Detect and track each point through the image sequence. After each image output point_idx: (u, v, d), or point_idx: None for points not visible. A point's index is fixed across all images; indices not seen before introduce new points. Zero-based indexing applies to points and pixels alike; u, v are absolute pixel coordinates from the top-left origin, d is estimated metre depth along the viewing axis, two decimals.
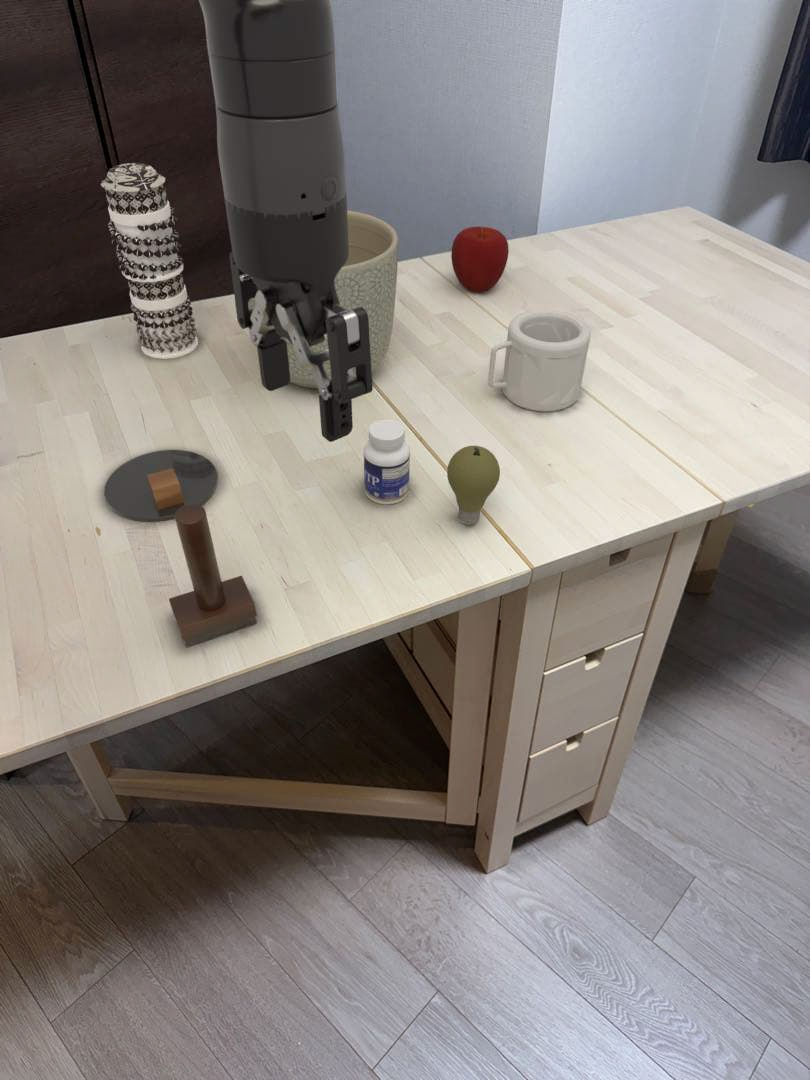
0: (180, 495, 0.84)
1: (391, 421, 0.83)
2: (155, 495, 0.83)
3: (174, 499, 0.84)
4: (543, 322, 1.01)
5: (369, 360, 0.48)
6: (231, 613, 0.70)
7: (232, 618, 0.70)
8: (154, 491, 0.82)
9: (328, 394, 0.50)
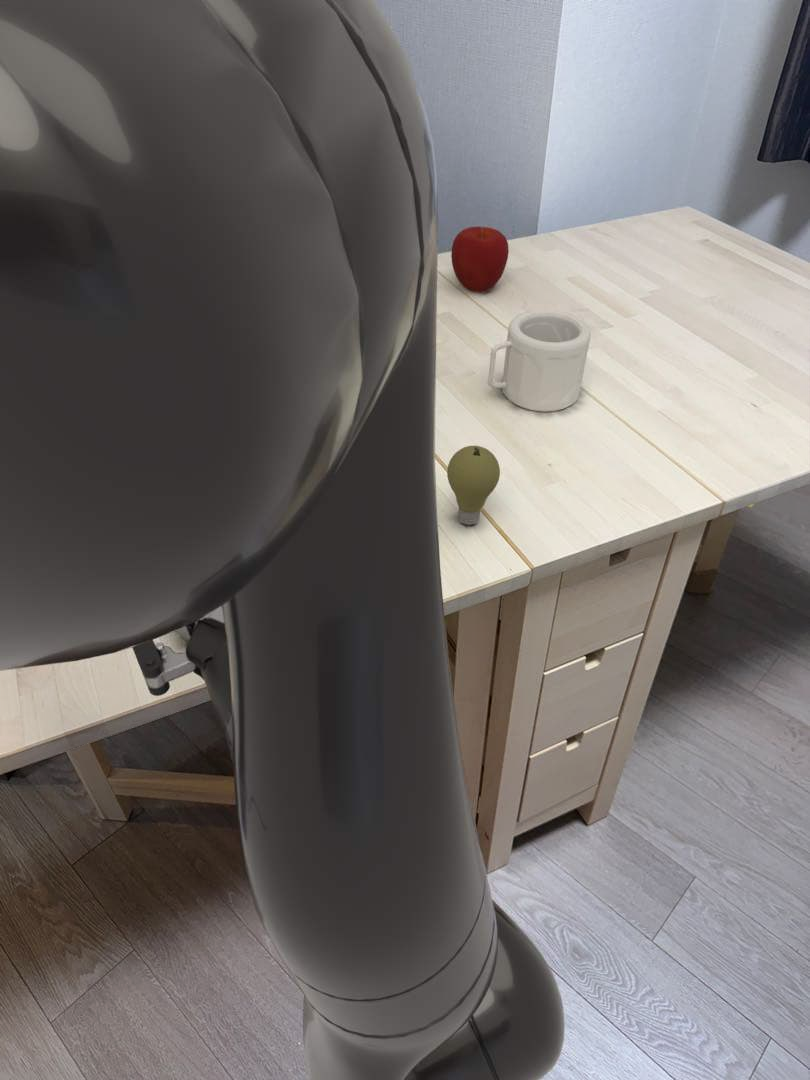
0: None
1: None
2: None
3: None
4: (543, 322, 1.01)
5: None
6: None
7: None
8: None
9: None
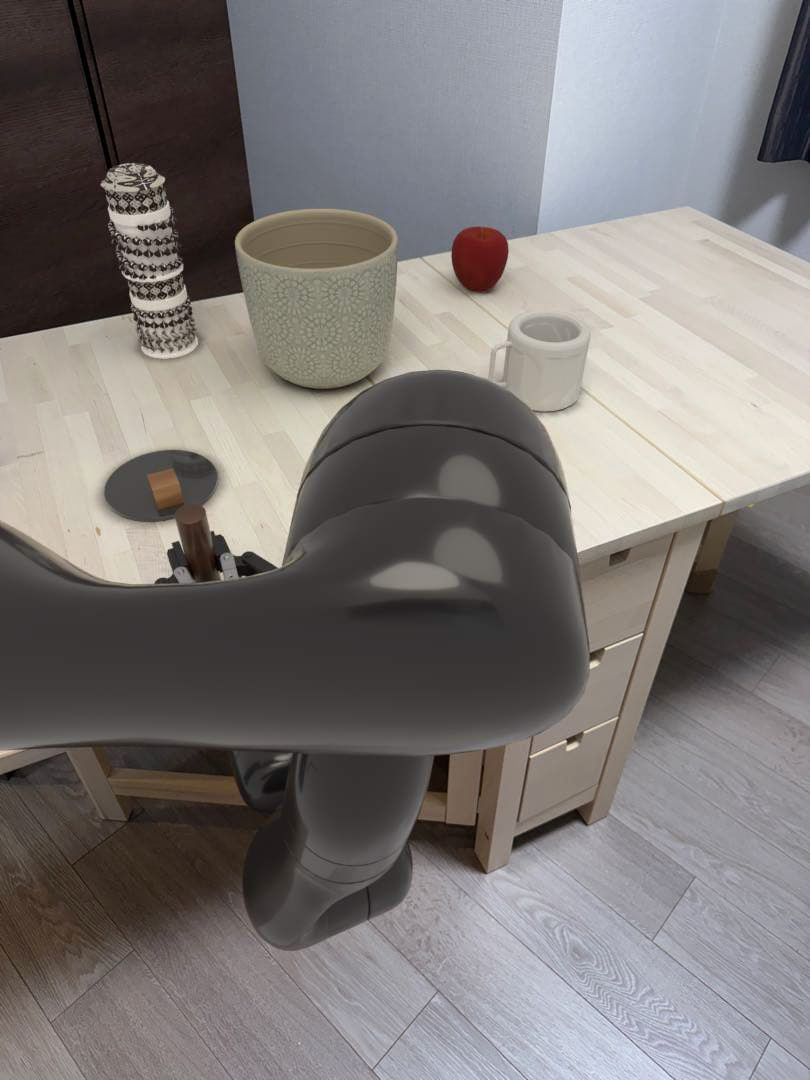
0: (180, 495, 0.84)
1: None
2: (155, 495, 0.83)
3: (174, 499, 0.84)
4: (543, 322, 1.01)
5: None
6: None
7: None
8: (154, 491, 0.82)
9: (174, 574, 0.65)
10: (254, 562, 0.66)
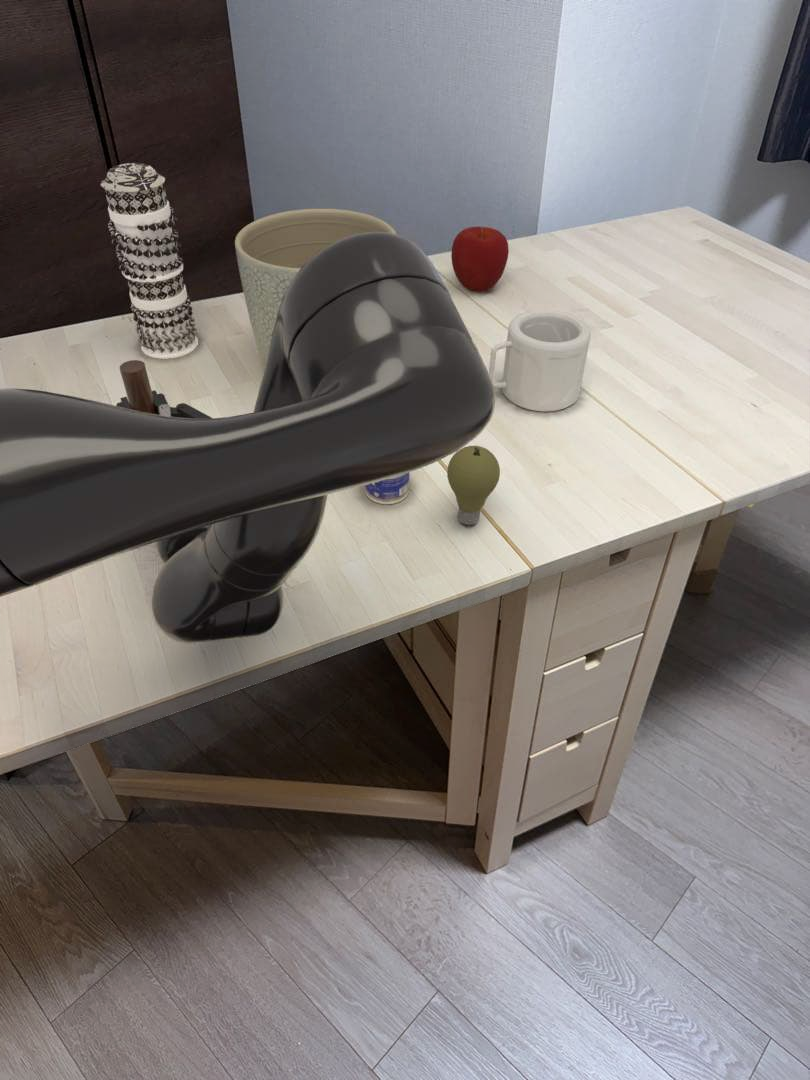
0: None
1: None
2: None
3: None
4: (543, 322, 1.01)
5: None
6: None
7: None
8: None
9: None
10: (186, 410, 0.81)
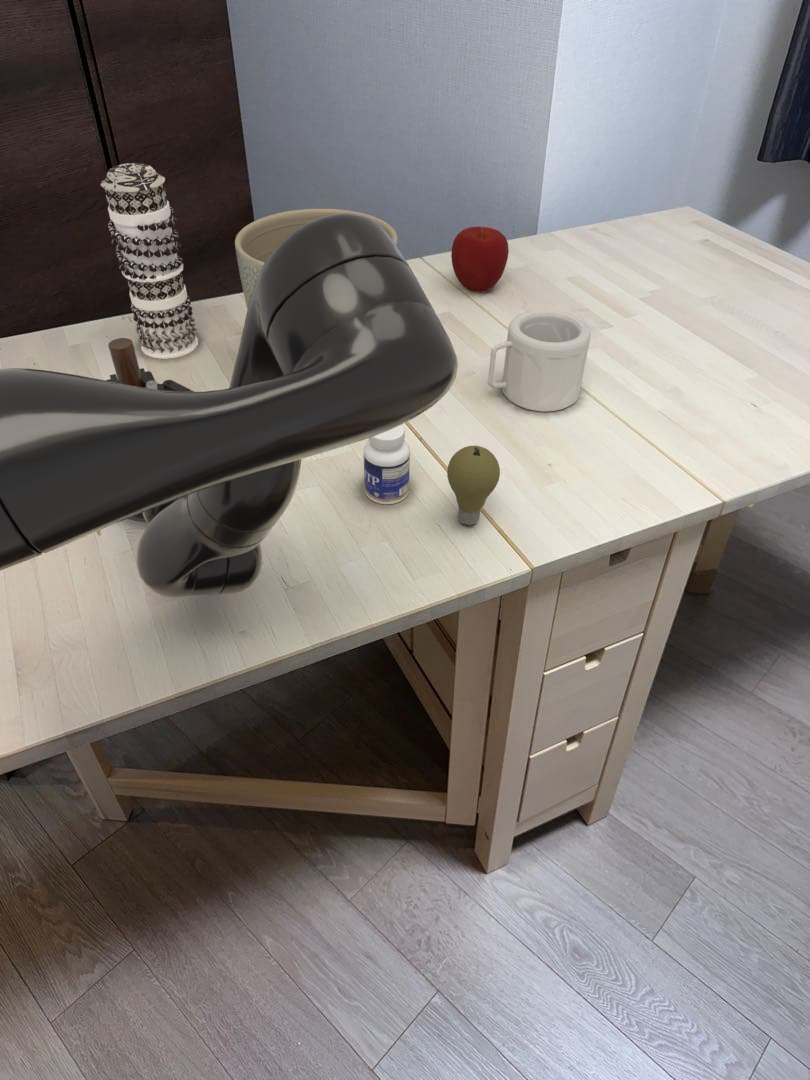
0: None
1: None
2: None
3: None
4: (543, 322, 1.01)
5: None
6: None
7: None
8: None
9: None
10: (172, 386, 0.85)
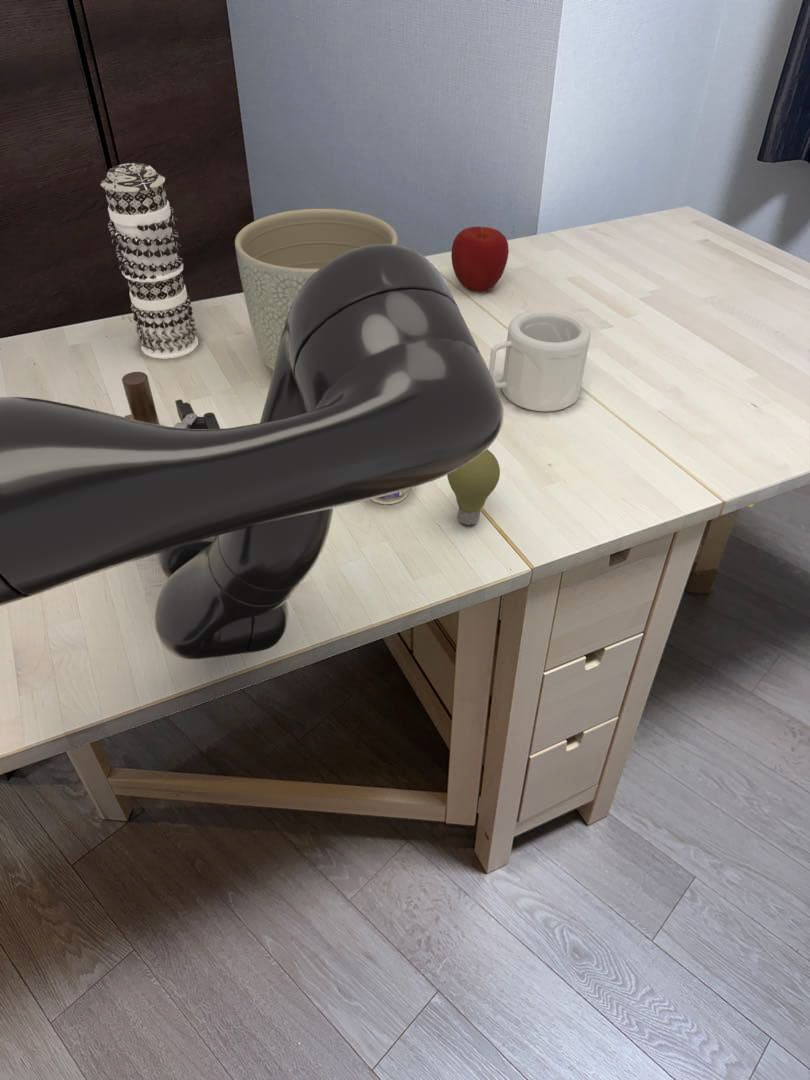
0: None
1: None
2: None
3: None
4: (543, 322, 1.01)
5: None
6: None
7: None
8: None
9: None
10: (208, 420, 0.80)
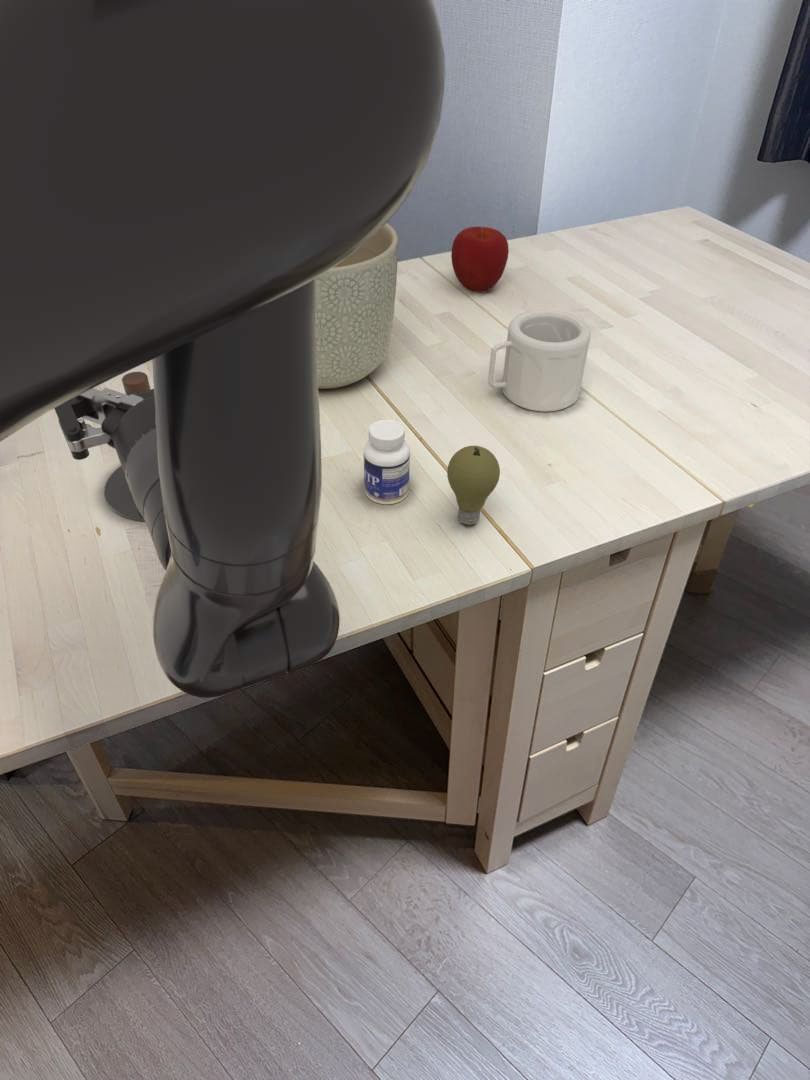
0: None
1: (391, 421, 0.83)
2: None
3: None
4: (543, 322, 1.01)
5: (65, 437, 0.59)
6: None
7: None
8: None
9: None
10: None
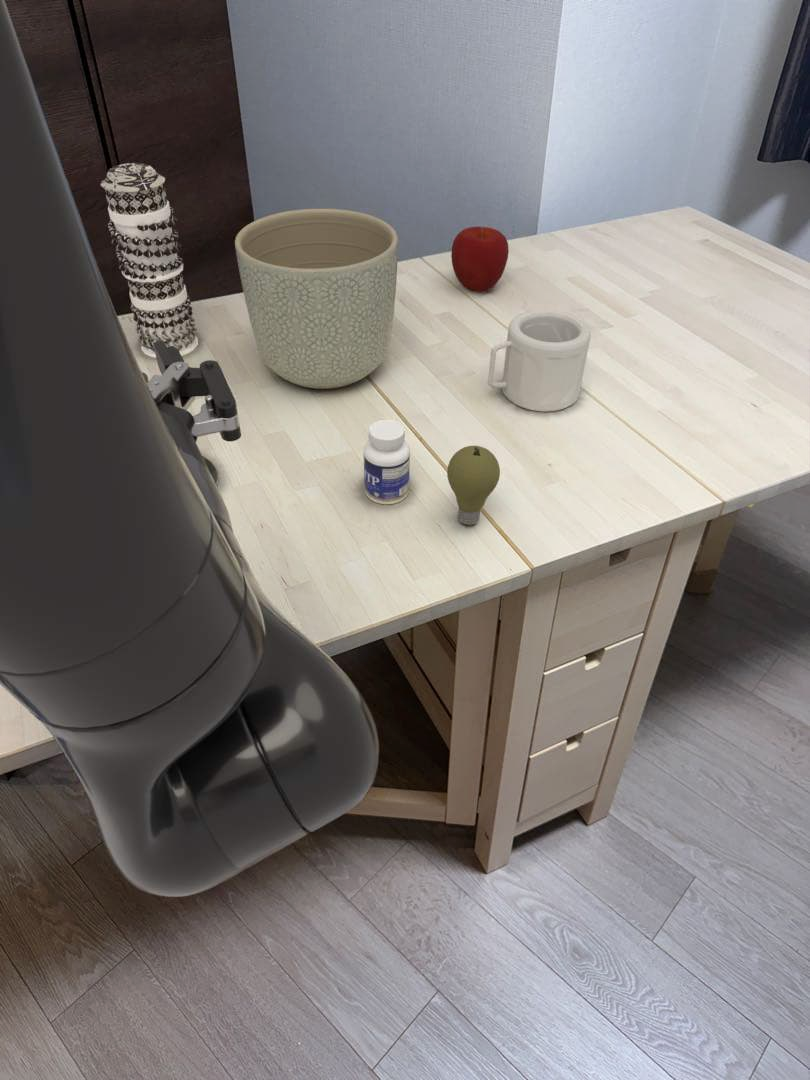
0: None
1: (391, 421, 0.83)
2: None
3: None
4: (543, 322, 1.01)
5: None
6: None
7: None
8: None
9: None
10: (208, 373, 0.47)
